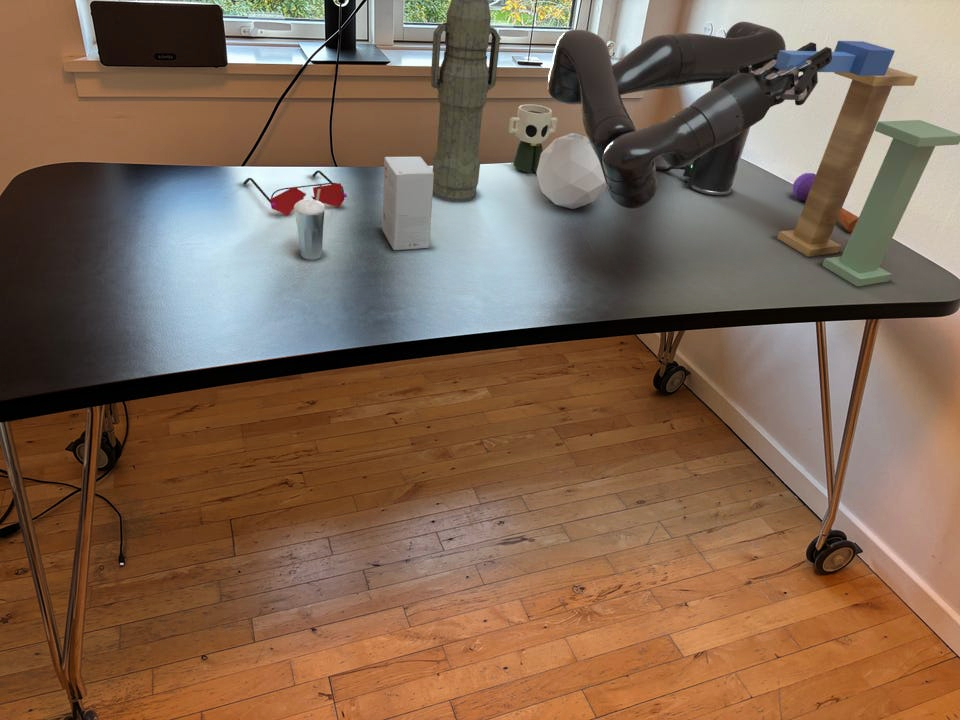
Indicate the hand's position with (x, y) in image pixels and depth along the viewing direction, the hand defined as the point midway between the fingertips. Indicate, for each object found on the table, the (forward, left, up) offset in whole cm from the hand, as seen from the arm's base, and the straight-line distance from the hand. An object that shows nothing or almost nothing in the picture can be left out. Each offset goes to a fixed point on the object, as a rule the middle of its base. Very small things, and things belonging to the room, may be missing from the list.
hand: (821, 51), depth 104 cm
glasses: (-80, -17, -36) cm, 90 cm away
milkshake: (-65, -35, -36) cm, 82 cm away
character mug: (-48, +24, -36) cm, 65 cm away
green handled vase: (-56, +2, -36) cm, 67 cm away
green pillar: (+19, +10, -36) cm, 42 cm away
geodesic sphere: (-35, +10, -36) cm, 52 cm away
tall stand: (+11, +18, -36) cm, 42 cm away
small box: (-55, -22, -36) cm, 70 cm away
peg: (+2, +2, -3) cm, 3 cm away
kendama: (+14, +38, -36) cm, 54 cm away
